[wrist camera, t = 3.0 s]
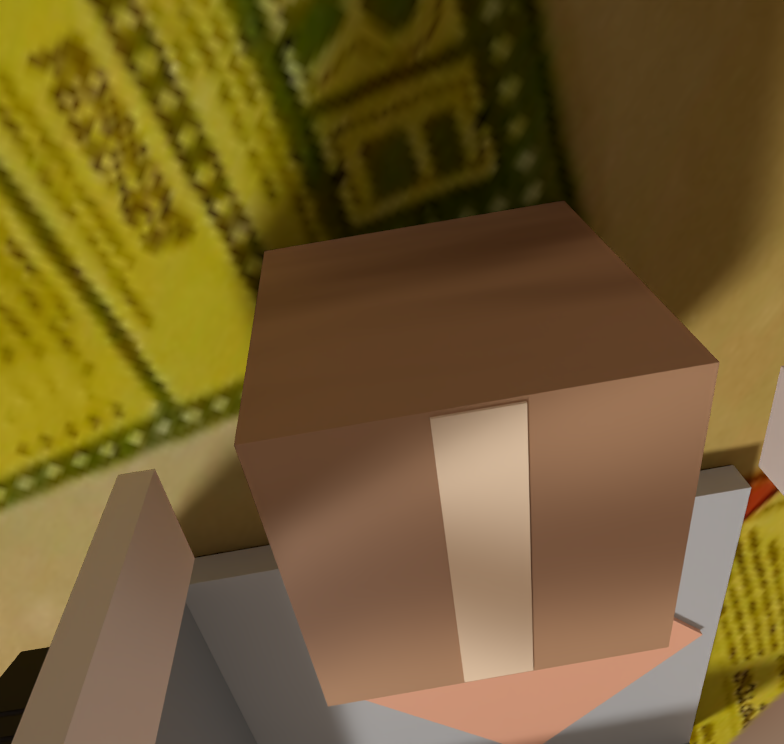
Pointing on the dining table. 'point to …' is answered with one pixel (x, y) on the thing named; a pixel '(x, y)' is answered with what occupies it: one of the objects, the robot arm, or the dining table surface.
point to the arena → (448, 703)
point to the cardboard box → (471, 449)
